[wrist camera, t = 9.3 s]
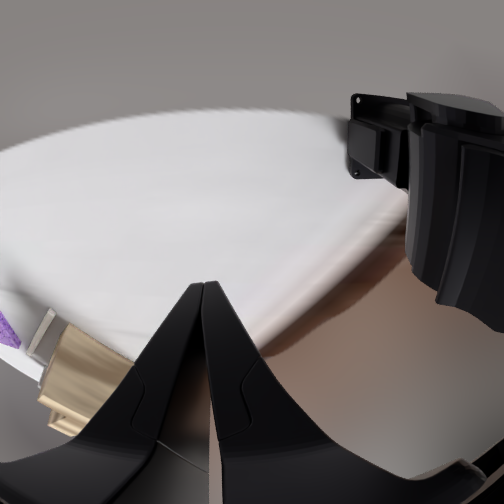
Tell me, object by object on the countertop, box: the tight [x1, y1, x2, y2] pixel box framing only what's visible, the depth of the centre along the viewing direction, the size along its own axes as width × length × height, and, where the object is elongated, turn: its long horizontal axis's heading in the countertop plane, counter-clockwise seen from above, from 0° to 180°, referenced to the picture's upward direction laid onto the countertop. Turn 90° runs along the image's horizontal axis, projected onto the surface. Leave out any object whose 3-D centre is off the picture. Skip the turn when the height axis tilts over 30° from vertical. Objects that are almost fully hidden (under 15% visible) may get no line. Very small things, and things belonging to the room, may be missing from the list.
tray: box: [26, 308, 56, 389], centre depth 29 cm, size 18×18×4 cm
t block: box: [37, 323, 135, 436], centre depth 26 cm, size 16×12×10 cm
